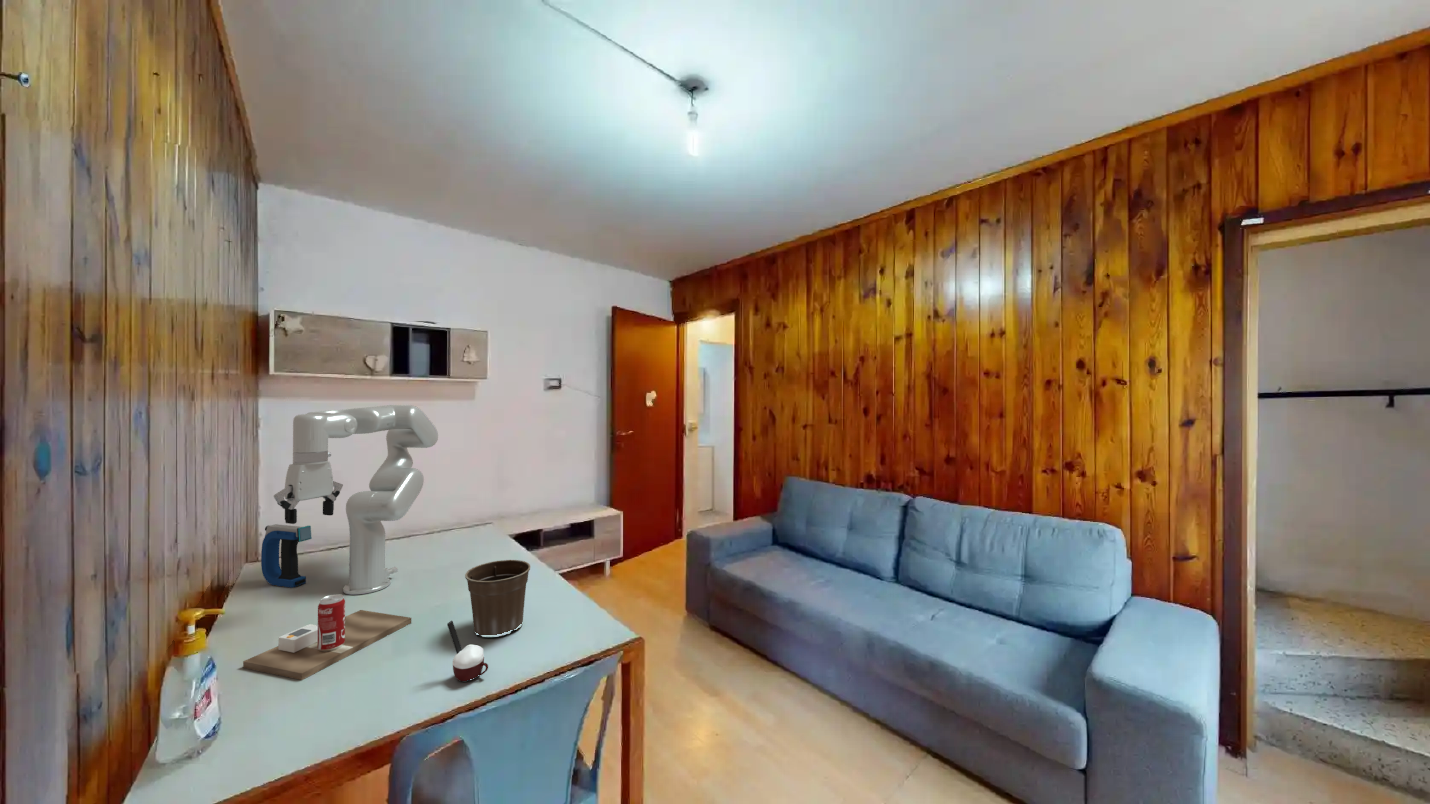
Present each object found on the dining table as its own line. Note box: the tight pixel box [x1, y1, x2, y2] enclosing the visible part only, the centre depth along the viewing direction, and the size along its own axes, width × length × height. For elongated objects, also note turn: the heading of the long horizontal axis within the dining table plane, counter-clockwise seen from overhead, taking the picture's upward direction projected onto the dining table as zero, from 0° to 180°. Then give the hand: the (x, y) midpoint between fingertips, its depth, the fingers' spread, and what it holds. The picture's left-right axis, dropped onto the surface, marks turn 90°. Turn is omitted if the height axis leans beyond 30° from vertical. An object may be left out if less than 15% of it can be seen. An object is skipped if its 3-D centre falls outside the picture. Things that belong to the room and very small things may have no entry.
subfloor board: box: [242, 609, 412, 681], centre depth 121 cm, size 28×18×2 cm, turn 166°
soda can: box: [317, 593, 346, 652], centre depth 117 cm, size 5×5×12 cm
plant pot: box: [464, 559, 531, 635], centre depth 130 cm, size 16×16×16 cm
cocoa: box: [447, 620, 489, 682], centre depth 108 cm, size 10×6×12 cm, turn 60°
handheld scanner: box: [260, 523, 312, 589], centre depth 159 cm, size 5×16×20 cm, turn 78°
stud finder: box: [277, 623, 318, 653], centre depth 118 cm, size 7×5×3 cm
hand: (310, 519), depth 134 cm, fingers open, 9 cm apart
